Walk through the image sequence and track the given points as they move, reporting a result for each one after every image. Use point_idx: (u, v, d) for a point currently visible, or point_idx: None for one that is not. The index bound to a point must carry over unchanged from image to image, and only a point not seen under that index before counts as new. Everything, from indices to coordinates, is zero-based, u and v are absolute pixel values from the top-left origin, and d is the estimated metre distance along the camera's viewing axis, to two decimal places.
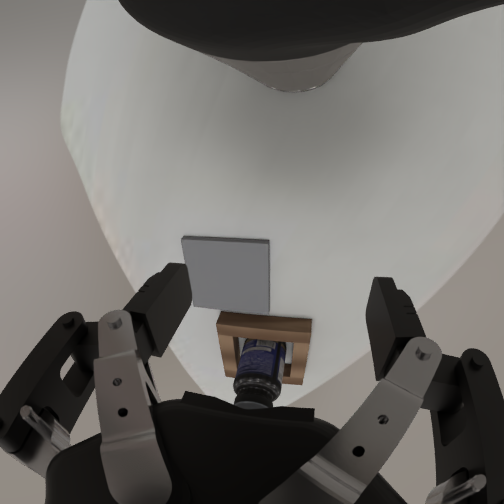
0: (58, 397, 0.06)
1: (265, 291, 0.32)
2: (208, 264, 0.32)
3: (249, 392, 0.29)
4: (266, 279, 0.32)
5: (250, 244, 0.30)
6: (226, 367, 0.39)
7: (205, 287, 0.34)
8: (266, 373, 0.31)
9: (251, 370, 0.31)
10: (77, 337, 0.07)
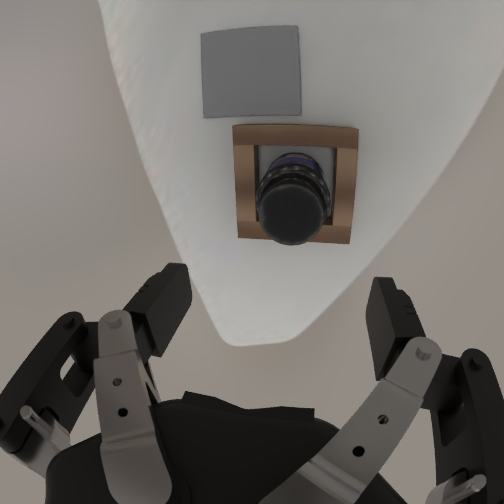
0: (58, 397, 0.06)
1: (296, 80, 0.23)
2: (229, 54, 0.22)
3: (284, 181, 0.19)
4: (296, 65, 0.22)
5: (278, 26, 0.20)
6: (240, 215, 0.29)
7: (222, 85, 0.24)
8: (307, 166, 0.21)
9: (284, 163, 0.21)
10: (77, 337, 0.07)
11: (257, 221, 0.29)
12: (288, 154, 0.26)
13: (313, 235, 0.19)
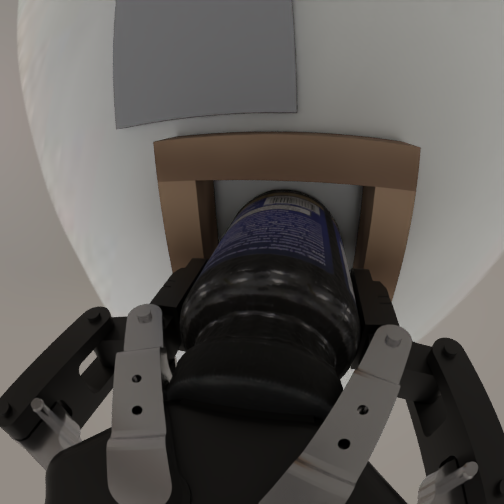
0: (74, 392, 0.06)
1: (286, 41, 0.10)
2: (157, 9, 0.09)
3: (234, 336, 0.06)
4: (287, 12, 0.09)
5: None
6: None
7: (144, 65, 0.11)
8: (309, 257, 0.08)
9: (248, 248, 0.08)
10: (104, 332, 0.08)
11: None
12: (270, 196, 0.13)
13: None
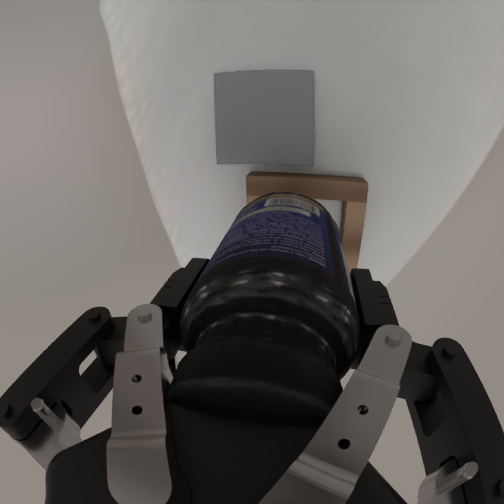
0: (74, 392, 0.06)
1: (310, 130, 0.25)
2: (243, 99, 0.25)
3: (235, 338, 0.06)
4: (311, 114, 0.24)
5: (294, 71, 0.22)
6: None
7: (235, 131, 0.26)
8: (310, 259, 0.08)
9: (248, 250, 0.08)
10: (104, 332, 0.08)
11: None
12: (270, 198, 0.13)
13: None
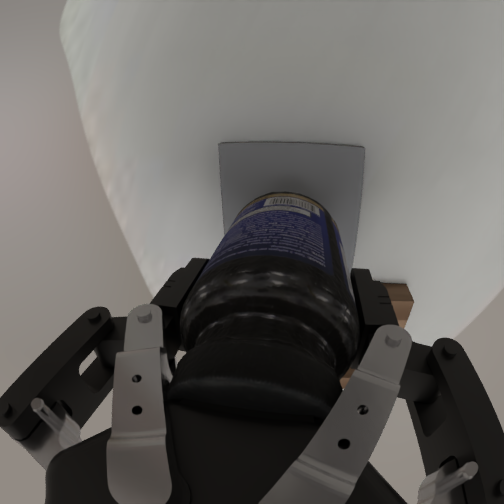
0: (74, 392, 0.06)
1: (352, 234, 0.19)
2: (262, 186, 0.19)
3: (234, 337, 0.06)
4: (356, 212, 0.18)
5: (337, 147, 0.17)
6: None
7: None
8: (309, 259, 0.08)
9: (248, 250, 0.08)
10: (104, 332, 0.08)
11: None
12: (270, 197, 0.13)
13: None
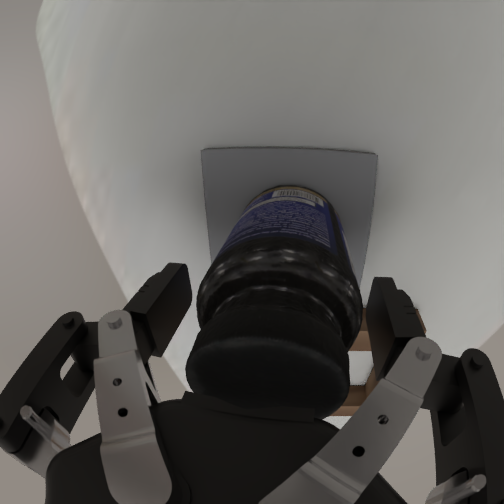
0: (58, 397, 0.06)
1: (360, 256, 0.16)
2: None
3: (252, 306, 0.07)
4: (365, 232, 0.15)
5: (344, 154, 0.14)
6: None
7: None
8: (316, 240, 0.09)
9: (261, 232, 0.09)
10: (77, 337, 0.07)
11: None
12: (277, 190, 0.14)
13: None
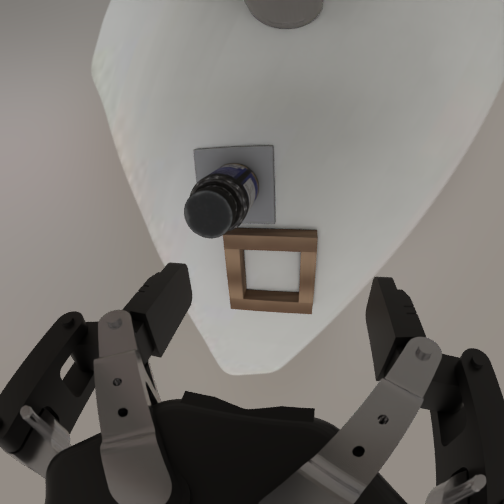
0: (58, 397, 0.06)
1: (271, 196, 0.34)
2: None
3: (204, 188, 0.25)
4: (271, 183, 0.33)
5: (256, 147, 0.31)
6: (232, 294, 0.40)
7: None
8: (228, 174, 0.27)
9: (211, 174, 0.27)
10: (77, 337, 0.07)
11: (244, 298, 0.40)
12: (225, 165, 0.32)
13: (226, 229, 0.25)
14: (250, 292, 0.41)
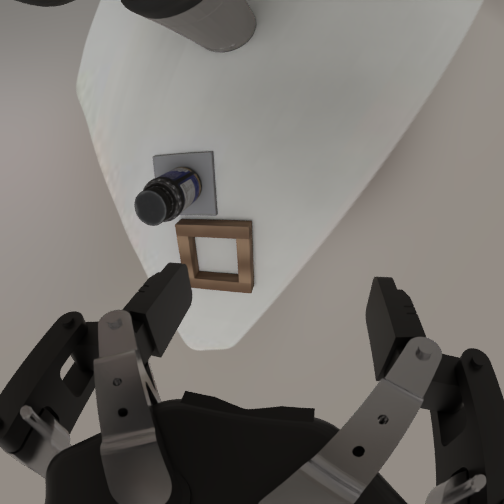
0: (58, 397, 0.06)
1: (211, 193, 0.41)
2: None
3: None
4: (211, 182, 0.40)
5: (199, 153, 0.39)
6: None
7: None
8: (169, 177, 0.34)
9: (157, 177, 0.34)
10: (77, 337, 0.07)
11: (195, 278, 0.47)
12: None
13: (163, 219, 0.32)
14: (201, 273, 0.49)
